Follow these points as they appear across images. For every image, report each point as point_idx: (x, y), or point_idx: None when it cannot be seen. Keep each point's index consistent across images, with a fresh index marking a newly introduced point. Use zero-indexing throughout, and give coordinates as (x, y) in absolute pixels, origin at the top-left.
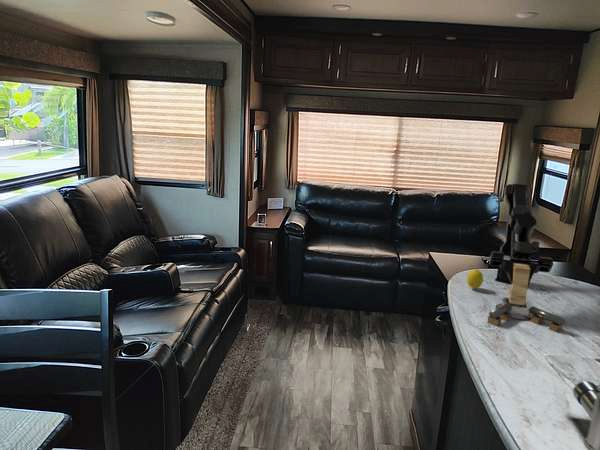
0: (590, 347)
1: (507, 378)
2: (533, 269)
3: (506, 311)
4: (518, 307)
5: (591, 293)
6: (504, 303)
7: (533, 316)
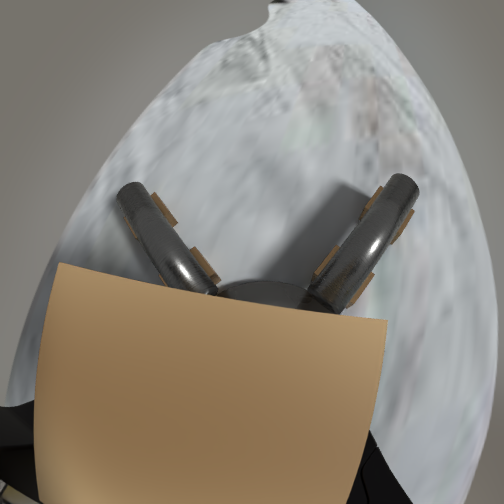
0: (124, 143)
1: (352, 30)
2: (23, 417)
3: (344, 242)
4: None
5: None
6: None
7: (209, 265)
